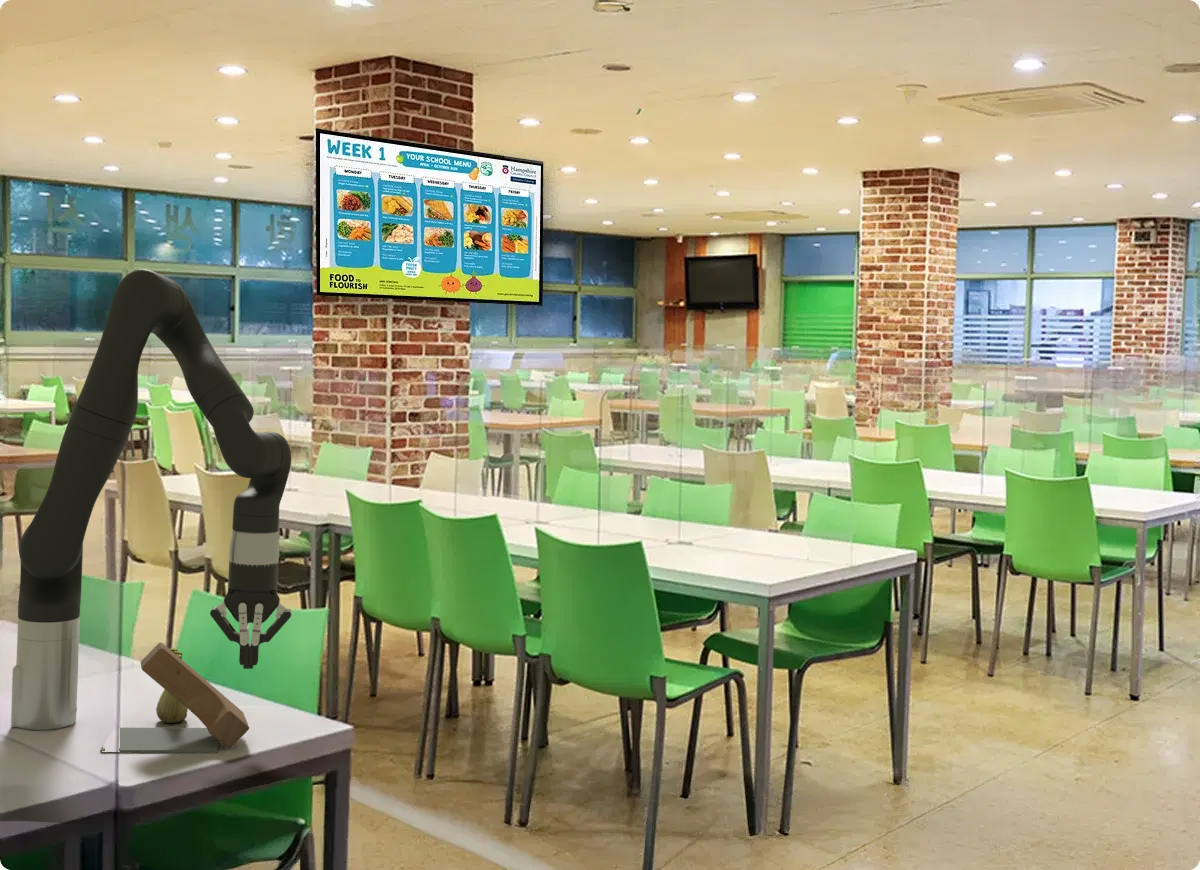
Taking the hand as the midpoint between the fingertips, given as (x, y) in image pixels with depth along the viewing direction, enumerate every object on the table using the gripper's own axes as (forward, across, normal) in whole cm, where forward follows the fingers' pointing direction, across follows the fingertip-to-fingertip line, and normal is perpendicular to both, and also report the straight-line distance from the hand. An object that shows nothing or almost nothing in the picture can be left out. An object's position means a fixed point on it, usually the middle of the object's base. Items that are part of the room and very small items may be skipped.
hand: (248, 667), depth 212 cm
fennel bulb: (+12, -12, +11) cm, 21 cm away
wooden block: (+10, -1, 0) cm, 10 cm away
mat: (+12, -12, 0) cm, 17 cm away
